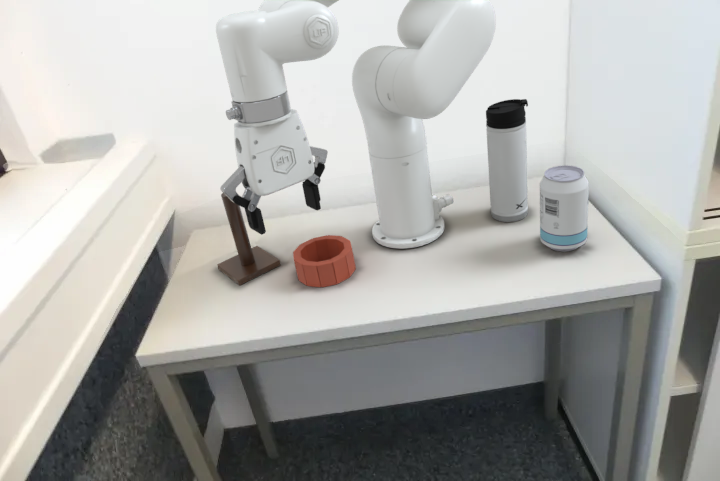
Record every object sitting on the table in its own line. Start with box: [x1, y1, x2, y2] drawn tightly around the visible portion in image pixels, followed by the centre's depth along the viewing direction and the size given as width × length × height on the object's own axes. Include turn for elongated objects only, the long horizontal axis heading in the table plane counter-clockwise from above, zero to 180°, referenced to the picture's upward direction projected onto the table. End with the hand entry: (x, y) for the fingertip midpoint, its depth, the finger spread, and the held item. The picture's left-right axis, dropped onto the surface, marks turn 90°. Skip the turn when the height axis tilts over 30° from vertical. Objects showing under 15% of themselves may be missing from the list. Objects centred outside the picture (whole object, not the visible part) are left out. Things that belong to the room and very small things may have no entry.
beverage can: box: [539, 164, 590, 252], centre depth 91 cm, size 7×7×12 cm
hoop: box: [292, 234, 357, 288], centre depth 96 cm, size 9×9×4 cm
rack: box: [217, 192, 282, 286], centre depth 99 cm, size 8×8×14 cm
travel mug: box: [485, 98, 529, 223], centre depth 100 cm, size 6×7×20 cm
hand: (287, 219), depth 90 cm, fingers open, 9 cm apart
